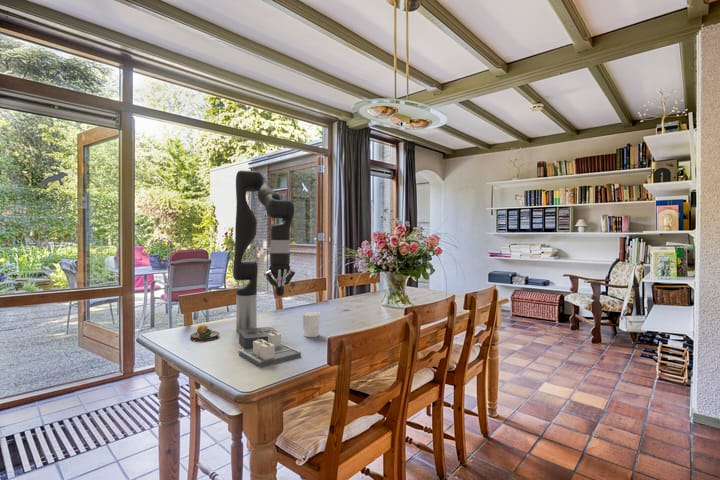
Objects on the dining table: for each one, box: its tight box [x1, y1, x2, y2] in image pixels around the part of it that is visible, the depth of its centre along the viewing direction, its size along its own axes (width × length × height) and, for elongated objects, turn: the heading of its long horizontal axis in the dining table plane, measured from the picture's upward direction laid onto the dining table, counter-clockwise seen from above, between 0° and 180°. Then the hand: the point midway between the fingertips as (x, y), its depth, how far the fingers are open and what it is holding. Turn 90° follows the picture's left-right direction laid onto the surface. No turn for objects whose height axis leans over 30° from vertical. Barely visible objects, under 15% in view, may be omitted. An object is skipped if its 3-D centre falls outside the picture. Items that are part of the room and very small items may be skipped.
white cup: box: [302, 311, 321, 338], centre depth 171 cm, size 8×8×10 cm
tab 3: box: [268, 332, 282, 347], centre depth 150 cm, size 4×4×5 cm
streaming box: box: [238, 326, 280, 350], centre depth 157 cm, size 14×14×5 cm
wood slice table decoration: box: [190, 324, 220, 342], centre depth 165 cm, size 12×12×8 cm
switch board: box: [238, 342, 302, 368], centre depth 143 cm, size 16×17×2 cm
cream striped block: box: [260, 342, 275, 360], centre depth 136 cm, size 4×4×5 cm
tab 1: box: [253, 339, 267, 356], centre depth 140 cm, size 4×4×5 cm
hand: (279, 295), depth 146 cm, fingers closed
